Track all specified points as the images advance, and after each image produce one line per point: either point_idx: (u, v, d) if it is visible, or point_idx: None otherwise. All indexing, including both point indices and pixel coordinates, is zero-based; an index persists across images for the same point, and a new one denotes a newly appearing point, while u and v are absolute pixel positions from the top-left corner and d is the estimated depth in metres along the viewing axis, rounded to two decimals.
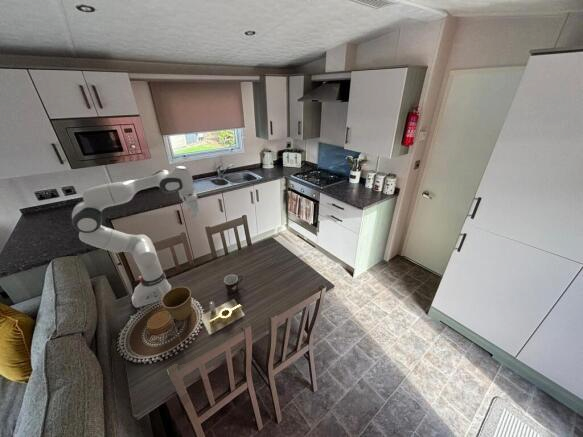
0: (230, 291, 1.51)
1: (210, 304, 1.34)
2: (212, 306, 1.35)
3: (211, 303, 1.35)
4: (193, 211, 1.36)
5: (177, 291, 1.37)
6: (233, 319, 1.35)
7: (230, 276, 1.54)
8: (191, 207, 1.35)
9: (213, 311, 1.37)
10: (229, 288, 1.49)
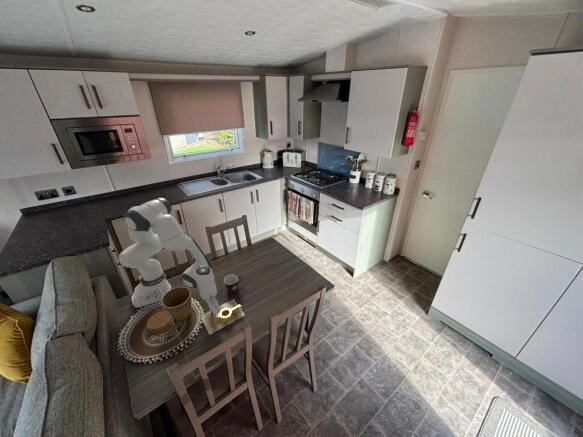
0: (230, 291, 1.51)
1: None
2: None
3: None
4: None
5: (177, 291, 1.37)
6: (233, 319, 1.35)
7: (230, 276, 1.54)
8: None
9: None
10: (229, 288, 1.49)
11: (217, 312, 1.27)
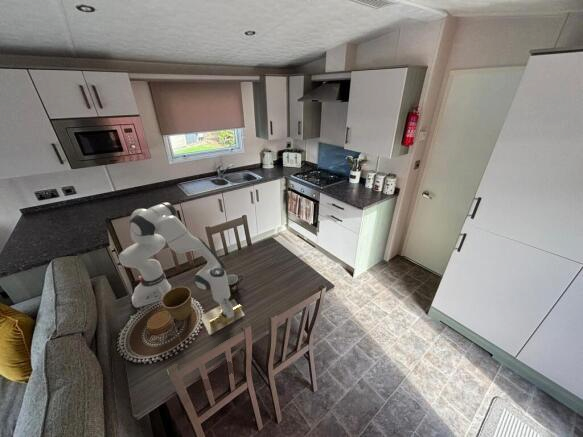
0: (230, 291, 1.51)
1: None
2: None
3: None
4: None
5: (177, 291, 1.37)
6: (233, 319, 1.35)
7: (230, 276, 1.54)
8: None
9: None
10: (229, 288, 1.49)
11: (231, 315, 1.22)
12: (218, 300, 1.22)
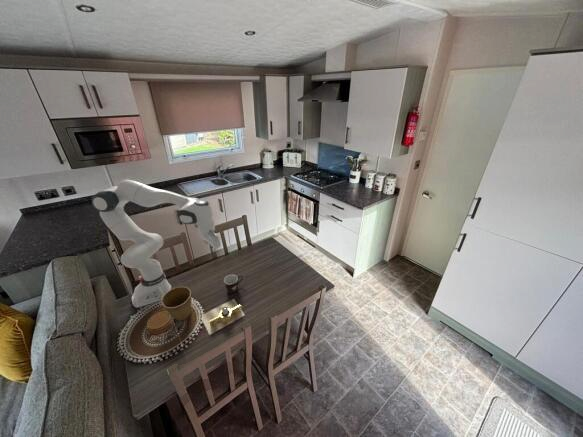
0: (230, 291, 1.51)
1: (224, 310, 1.31)
2: (226, 312, 1.31)
3: (225, 309, 1.32)
4: None
5: (177, 291, 1.37)
6: (233, 319, 1.35)
7: (230, 276, 1.54)
8: None
9: None
10: (229, 288, 1.49)
11: (217, 245, 1.30)
12: (204, 231, 1.29)
